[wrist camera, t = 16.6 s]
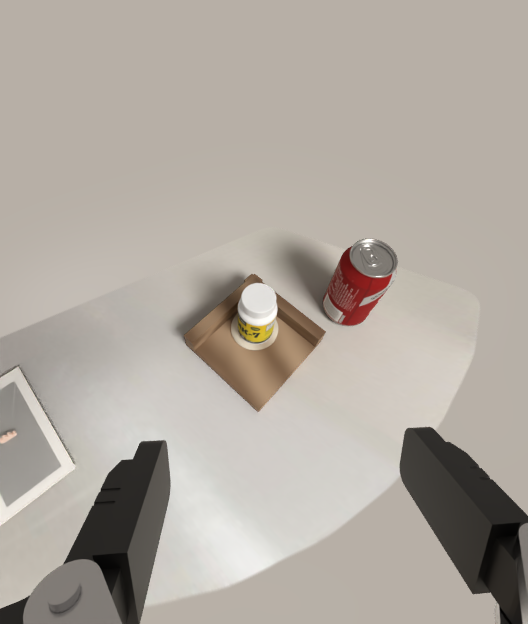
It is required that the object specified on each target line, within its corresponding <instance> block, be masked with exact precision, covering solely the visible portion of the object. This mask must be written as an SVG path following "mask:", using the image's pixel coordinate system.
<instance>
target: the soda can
mask: <svg viewBox="0 0 528 624" xmlns="http://www.w3.org/2000/svg"><path fill="white" fill-rule="evenodd" d="M397 263H398V260H397V256H396V254H395V252H394V251H393V249H392V248H391V247H390V246H388V245H387V244H386V243H384V242H382V241H379V240H376V239H362V240H359V241H357V242H356V243H355V244H354V245H353V246H352V247H350V248H348V249H347V250H346V251H345V252H344V253H343V255H342V257H341V259H340V261H339V263H338V266H337V268H336V270H335V272H334V275H333V277H332V279H331V281H330V284H329V286H328V288H327V290H326V293H325V295H324V298H323V308H324V311H325V313H326V314H327V316H328V317H329V318H330V319H331V320H333V321H334V322H336V323H338V324H340V325H344V326H354V325H358V324H360V323H361V322H363V321H364V320H365V319H366V317H367V316H368V315H369V313H370V312H371V311H372V309H373V308H374V307H375V305H376V304H377V303H378V301H379V300H380V299H381V297H382V296H383V295H384V293H385V292H386V291H387V289H388V288H389V287H390V286H391V284H392V283H393V281H394V280H395V277H396V267H397Z"/></svg>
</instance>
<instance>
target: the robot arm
mask: <svg viewBox="0 0 528 624" xmlns="http://www.w3.org/2000/svg"><path fill="white" fill-rule="evenodd" d="M400 474H401V478H402V481H403V483H404V485H405V487H406V488H407V490H408V492H409V493H410V495H411V496H412V498H413V500H414V501H415V503H416V504H417V506H418V507H419V509H420V511H421V512H422V514H423V516H424V517H425V519H426V520H427V522H428V524H429V525H430V527H431V528H432V530H433V531H434V533H435V535H436V536H437V538H438V539H439V541H440V543H441V544H442V546H443V547H444V549H445V551H446V552H447V554H448V555H449V557H450V558H451V560H452V562H453V563H454V565H455V566H456V568H457V569H458V571H459V573H460V574H461V576H462V577H463V579H464V581H465V582H466V584H467V586H468V587H469V589H470V590H471V592H472V594H480V593H490V592H491V594H492V595H493V597H494V598H495V600H496V601H497V603H496V606H495V624H528V516H527V515H526V513H525V512H524V511H523V510H522V509H521V508H519V506H518V505H517V504H516V503H515V502H514V501H513V500H512V499H511V498H510V497H509V496H508V495H507V494H506V493H505V492H504V491H503V490H502V489H501V488H500V487H499V486H498V485H497V484H496V483H495V482H494V481H493V480H491V479H490V478H489V476H488V475H487V474H486V473H485V471H483V469H482V468H479V466H478V464H477V463H476V462H475V461H474V460H473V459H472V458H471V457H470V456H469V455H468V454H467V453H466V452H464V451H462V450H461V449H459V448H458V447H456V446H455V445H453V444H451V443H450V442H445V441H444V440H443V439H442V437H441V436H440V435H439V434H438V433H437V432H436V431H435V430H434V429H433V428H431V427H420V428H408V429H406V431H405V434H404V441H403V447H402V453H401V460H400ZM169 495H170V471H169V461H168V451H167V443H166V441H165V440H161V441H142V442H141V443H140V444H139V446H138V449H137V451H136V453H135V456H134V458H133V459H132V460H121V461H120V462H119V463H118V464H117V465H116V466H115V467H114V468H113V469H112V470H111V471H110V472H109V473H108V475H107V477H106V480H105V482H104V484H103V486H102V488H101V492H99V494H98V496H97V498H96V500H95V502H94V506H92V508H91V510H90V512H89V514H88V516H87V518H86V520H85V522H84V524H83V526H82V528H81V530H80V532H79V534H78V536H77V538H76V540H75V542H74V544H73V546H72V548H71V550H70V552H69V554H68V556H67V558H66V560H65V562H64V564H63V565H62V566H60V567H58V568H56V569H55V570H54V571H52V572H51V573H50V574H48V575H47V576H46V577H45V578H44V579H43V580H42V581H41V582H40V583H39V584H38V585H37V587H36V588H35V589H34V591H33V592H32V594H31V595H30V596H28V597H27V598H25V599H23V600H21V601H18V602H16V603H14V604H11V605H9V606H6V607H4V608H1V609H0V624H140V620H141V616H142V611H143V608H144V603H145V599H146V595H147V591H148V586H149V582H150V578H151V574H152V569H153V565H154V561H155V557H156V552H157V548H158V544H159V540H160V535H161V531H162V527H163V523H164V518H165V514H166V510H167V506H168V501H169Z"/></svg>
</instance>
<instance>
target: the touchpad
mask: <svg viewBox="0 0 528 624" xmlns="http://www.w3.org/2000/svg"><path fill="white" fill-rule="evenodd" d="M75 468H76V467H75V465H74V463H73V462H72V460H71V458H70V456H69V455H68V453H67V451H66V449H65V448H64V446H63V444H62V442H61V441H60V439H59V437H58V435H57V434H56V432H55V430H54V428H53V427H52V425H51V423H50V421H49V419H48V418H47V416H46V414H45V412H44V411H43V409H42V407H41V405H40V404H39V402H38V400H37V398H36V397H35V395H34V393H33V391H32V390H31V388H30V386H29V384H28V383H27V381H26V379H25V377H24V376H23V374H22V372H21V370H20V368H19V367H17V368H15V369H13V370H12V371H10V372H8V373H7V374H5V375H4V376H2V377H0V526H1V525H2V524H3V523H5V522H6V521H7V520H8V519H10V518H11V517H12V516H14V515H15V514H16V513H18V512H19V511H20V510H21V509H23V508H24V507H25V506H27V505H28V504H29V503H31V502H32V501H33V500H34V499H36V498H37V497H38V496H40V495H41V494H42V493H44V492H45V491H46V490H47V489H49V488H50V487H51V486H53V485H54V484H55V483H57V482H58V481H59V480H60V479H62V478H63V477H64V476H66V475H67V474H68V473H70V472H71V471H72V470H74V469H75Z"/></svg>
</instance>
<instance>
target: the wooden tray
mask: <svg viewBox="0 0 528 624" xmlns="http://www.w3.org/2000/svg"><path fill="white" fill-rule="evenodd" d="M254 283H263V282H262V279H260V278H259V277H258V276H257V275H255V274H254V275H253V274H251V275H250V276H249V277H248V278H246V279H245V280H244V283H243V284H242V285H241V286H240V287H239V288H238V289H236V290H235V291H234V292H233V293H232V294H231V295H230V296H228V297H227V298H226V299H225V300H224V301H223V302H222V303H220V304H219V305H218V306H217V307H216V308H215V309H214V310H212V311H211V312H210V313H209V314H208V315H207V316H206V317H204V318H203V319H202V320H201V321H200V322H199V323H197V324H196V325H195V326H194V327H193V328H192V329H191V330H189V331H188V332H187V333H186V334H185V335H184V337H185V340H186V345H187V346H188V347H189V348H190V349H191V350H192V351H194V352H195V353H196V354H197V355H198V356H199V357H200V358H201V359H202V360H203V361H204V362H205V363H206V364H207V365H208V366H210V367H211V368H212V369H213V370H214V371H215V372H216V373H217V374H218V375H219V376H220V377H221V378H222V379H223V380H224V381H226V382H227V383H228V384H229V385H230V386H231V387H232V388H233V389H234V390H235V391H236V392H237V393H238V394H239V395H240V396H242V397H243V398H244V399H245V400H246V401H247V402H248V403H249V404H250V405H251V406H252V407H253V408H254V409H255V410H256V411H257V412H259V411H260V410H261V409H262V407H263V406H264V405H265V404H266V403H267V402H268V401H269V400H270V398H271V397H272V396H273V395H274V394H275V393H276V392H277V390H278V389H279V388H280V387H281V386H282V385H283V384H284V383H285V381H286V380H287V379H288V378H289V377H290V376H291V375H292V373H293V372H294V371H295V370H296V369H297V368H298V367H299V366H300V364H301V363H302V362H303V361H304V360H305V359H306V358H307V356H308V355H309V354H310V353H311V352H312V351H313V350H314V349H315V347H316V346H317V345H318V344H319V343H320V342H321V340H322V339H323V336H324V334H325V332H326V331H324V330H323V329H322V328H320V327H319V326H318V325H317V324H315V323H314V322H313V321H311V320H310V319H309V318H308V317H306V316H305V315H304V314H303V313H301V312H300V311H299V310H297V309H296V308H295V307H294V306H292V305H291V304H290V303H288V302H287V301H286V300H285V299H283V298H282V297H281V296H280V295H278V294H277V293H276V292H275V294H276V303H277V316H276V320H275V324H274V328H273V332H272V335H271V337H270V338H269V339H268V340H267V341H266V342H264V343H262V344H250V343H248V342H246V341H244V340H243V339H242V338H241V337H240V335H239V332H238V303H239V301H240V299H241V295H242V292H243V290H244V289H245V288H246V287H247V286H249V285H251V284H254ZM263 284H264V283H263Z"/></svg>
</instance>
